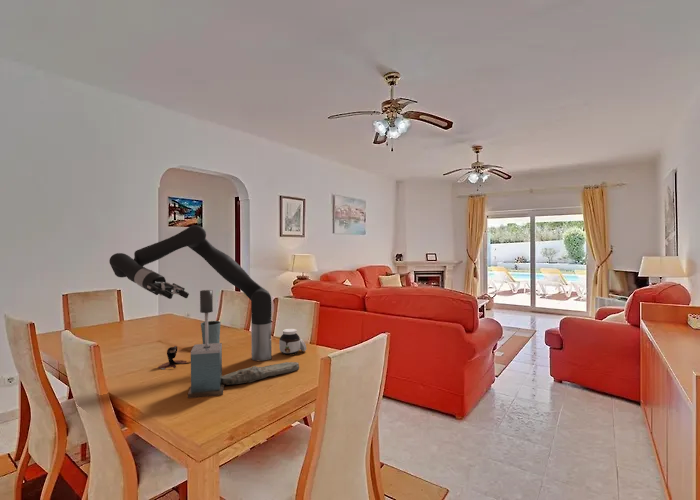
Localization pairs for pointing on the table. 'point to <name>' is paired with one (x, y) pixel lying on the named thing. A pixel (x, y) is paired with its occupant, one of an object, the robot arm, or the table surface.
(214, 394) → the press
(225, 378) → the long grey stone
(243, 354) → the table surface
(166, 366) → the dark brown curved piece
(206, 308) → the lever
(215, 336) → the drinking glass
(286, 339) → the spread jar
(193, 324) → the table surface
